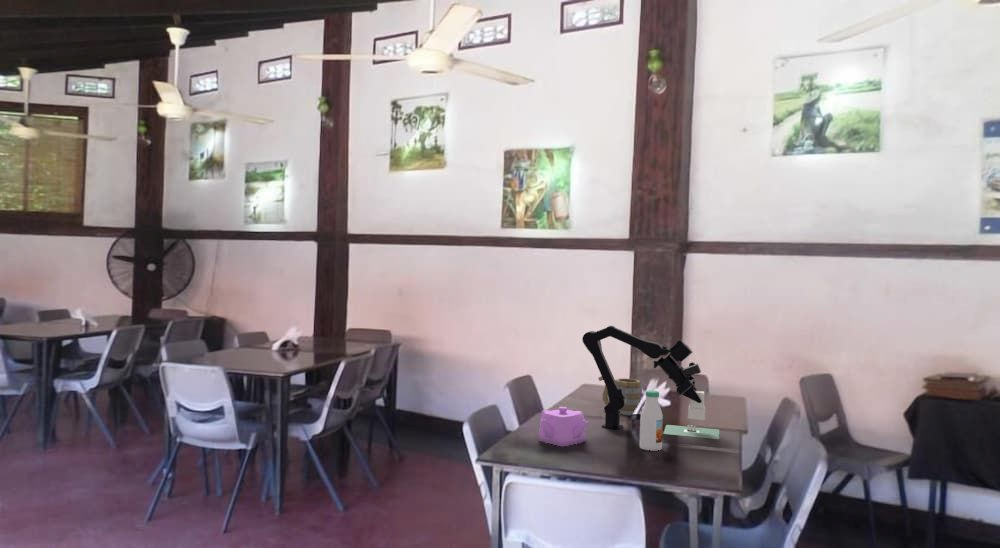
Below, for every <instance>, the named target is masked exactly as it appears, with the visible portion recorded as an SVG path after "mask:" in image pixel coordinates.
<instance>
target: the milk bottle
mask: <svg viewBox="0 0 1000 548" xmlns="http://www.w3.org/2000/svg"><path fill="white" fill-rule="evenodd" d="M659 396H660V392H659V391H657V390H646V391H645V402H644V405H643V407H642V408H641V409H642V411H641V414H640V417H639V419H640V421H639V422H640V423H639V448H640V449H641V450H644V451H649V450H650V451H651V452H656V451H658V450H659V451H661V450H662V449H663V432H664V431H663V429H664V427H663V426H664V420H663V419H664V416H663V411H662V409H661V408H662V407H661V406H660V403H659V399H660V397H659Z"/></svg>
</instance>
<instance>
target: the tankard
mask: <svg viewBox="0 0 1000 548" xmlns="http://www.w3.org/2000/svg"><path fill="white" fill-rule="evenodd" d="M598 381H599V382H602V381H604V380H603V378H602V376H599V377H598ZM615 381H616V383H617V385H618V386H619V387H620V388H621V387H622V386H623V388H624V391H625V393H626V394H627V397H626V398H627V401H626V404H625V405H624V406H623V408H621V409H620V410H619V411H620V415H621V414H623V416H632V415H631V414H632V413H633V412H634V410H635V408H636V407H637V405H638V403H639V402H640V400H641V398H642V397H641V393H643V387H642V382H641V380H638V379H636V378H625V377H624V378H617V379H615ZM602 401H603V403H604V405H605V406H606V405H607V404H608V403H609V398H608V391H607V387H606V385H605V384H604V389H603V392H602Z"/></svg>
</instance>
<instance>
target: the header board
mask: <svg viewBox="0 0 1000 548" xmlns="http://www.w3.org/2000/svg"><path fill="white" fill-rule="evenodd" d="M663 434H664V435H672V436H682V437H683V436H684V437H693V438H702V439H704V438H705V439H713V440H720V429H716V428H705V427H697V425H693V424H691V425H690V424H687V426H684V425H673V424H666V425H665V427H664V431H663ZM663 434H662V435H663Z"/></svg>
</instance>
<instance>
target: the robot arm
mask: <svg viewBox="0 0 1000 548" xmlns="http://www.w3.org/2000/svg"><path fill="white" fill-rule="evenodd" d="M609 337H611V338H613V339H615V340H617V341H620V342H622V343H624V344H627V345H629V346H630V347H634V348H636V349H638V350H640V351H641V352H642V353H643V354H644V355H646V356H648V357H649V358H651V359H653V369H656V368H657V367H659V368H660V369H662V371H663V372H664V373H665V374H666V376H667V377H668V379H669V380H671V382H673V383H674V384H675V387H676V393H677V394H678V395H679V396H684V397H685V398H688V399H689V400H691V399H692V400H694V401H696V402H698V403H701V402H702V401H701V399H700V398H699V396H698V395H697V393H696V392H695V391H698V390H697V388H696V380H695V376H694V375H698V374H701V372H702V370H701V368H700V365H699V363H695V362H694V361H692V362H690V363H689V364H688V366H686V367H685V368H684V367H683V366H682V365H681V366H680V365H679V364H678V363H677V362H681V363H682V362H683V361H684V360H686V359H687V358H688V357H689V356H690V355H691V354H693V350H692V349H691V348H690V347H689V345H687V344H686V343H685V342H683V341H682V339H678V340H677V341H676V343H675V344H673V345H672V346H671V347H668V346H664V345H662V344H661V343H660V342H656V341H652V340H647V339H642V338H640V337H638V336H636V335H633V334H631V333H629V332H627V331H624V330H622V329H620V328H617V327H615V325H609V326H607V327H605V328H602V329H600V330H597V331H594V330H589V331H587V332H585V333H584V334H583V336H582V343H583V345H584V346H585V348H586V349H587V351H588V352H589V353H590V354H591V356H592V357H593V360H594V361H595V364H596V367H597V368H598V371H599V373H600V375H601V376H602V378H603V380H602V381H603V382H604V386H605V385H606V387H607V391H608V400H609V403H608V404H607V405H605V406H604V408H603V410H604V413H605V421H604V423H605V424H602V425H601V428H606V429H612V430H619V429H621V428H623V427H624V425H623V424H621V414H620V411H619V410H620V409H621V408H623V406H624V405H625V404H626V401H627V398H626V397H627V394H626V393H625V391H624V388H623V386H622V387H621V388H620V387H619V386H618V385H617V383H616V381H615V380H616V379H615V377H614V375H613V371H611V368H610V366H609V364H608V361H607V359H606V356H605V355H604V352H603V347H602V342H601V341H602V340H604V339H607V338H609ZM667 354H668V355H667ZM666 355H667V356H666ZM658 358H659V359H658ZM656 359H657V360H656ZM601 376H600V377H601Z"/></svg>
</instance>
